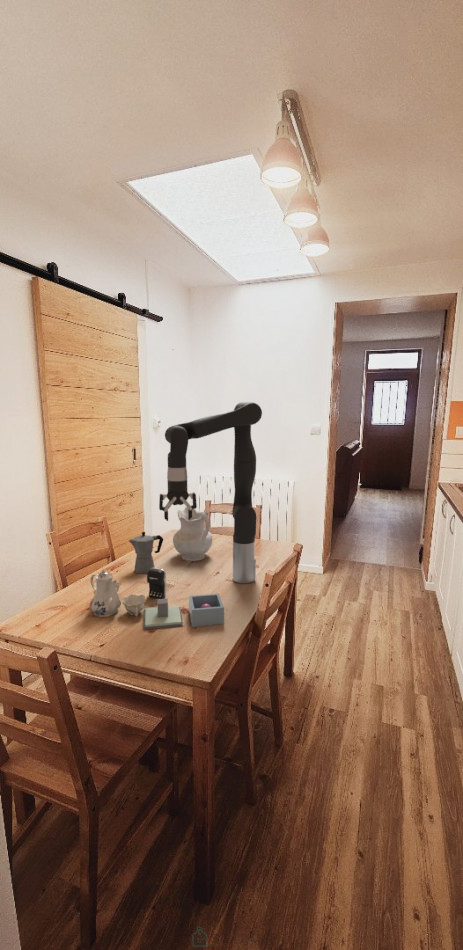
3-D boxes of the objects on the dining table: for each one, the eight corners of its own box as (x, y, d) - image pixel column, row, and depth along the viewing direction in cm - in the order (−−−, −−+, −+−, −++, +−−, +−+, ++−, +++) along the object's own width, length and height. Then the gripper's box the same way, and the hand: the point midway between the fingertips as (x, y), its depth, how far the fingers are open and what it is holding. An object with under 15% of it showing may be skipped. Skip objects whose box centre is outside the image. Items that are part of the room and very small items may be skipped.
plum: (210, 611, 148) (210, 601, 147) (212, 617, 144) (212, 606, 143) (199, 612, 147) (199, 602, 146) (201, 618, 143) (200, 607, 143)
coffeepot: (131, 576, 181) (130, 536, 178) (128, 568, 190) (126, 530, 187) (166, 571, 187) (165, 532, 184) (161, 563, 196) (160, 527, 193)
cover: (179, 607, 152) (178, 592, 151) (181, 623, 140) (181, 607, 139) (145, 610, 150) (145, 595, 149) (145, 627, 138) (144, 610, 137)
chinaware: (155, 616, 150) (157, 571, 148) (116, 630, 137) (118, 581, 135) (108, 594, 167) (110, 554, 166) (70, 605, 154) (72, 562, 153)
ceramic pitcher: (223, 558, 206) (225, 509, 204) (199, 568, 190) (201, 514, 188) (189, 550, 218) (190, 503, 215) (164, 558, 201) (165, 508, 199)
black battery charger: (146, 598, 160) (145, 569, 159) (151, 593, 164) (150, 566, 162) (162, 600, 158) (161, 572, 156) (166, 596, 162) (166, 568, 160)
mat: (180, 608, 152) (180, 606, 152) (182, 626, 140) (182, 624, 140) (144, 611, 150) (144, 609, 150) (143, 629, 137) (143, 628, 137)
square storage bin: (219, 608, 152) (219, 593, 151) (224, 623, 141) (224, 607, 140) (189, 611, 150) (188, 595, 149) (191, 626, 139) (191, 610, 138)
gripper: (194, 476, 163) (195, 516, 166) (158, 477, 160) (159, 518, 163) (197, 479, 156) (197, 521, 158) (158, 481, 153) (159, 523, 156)
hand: (178, 519), depth 161 cm, fingers open, 8 cm apart
